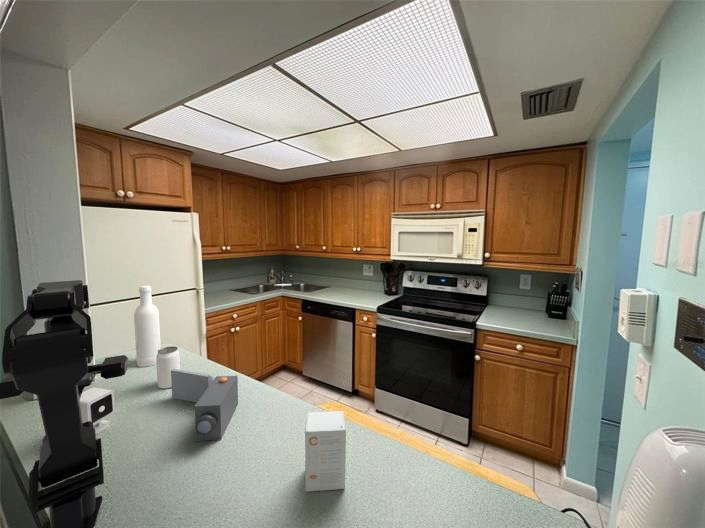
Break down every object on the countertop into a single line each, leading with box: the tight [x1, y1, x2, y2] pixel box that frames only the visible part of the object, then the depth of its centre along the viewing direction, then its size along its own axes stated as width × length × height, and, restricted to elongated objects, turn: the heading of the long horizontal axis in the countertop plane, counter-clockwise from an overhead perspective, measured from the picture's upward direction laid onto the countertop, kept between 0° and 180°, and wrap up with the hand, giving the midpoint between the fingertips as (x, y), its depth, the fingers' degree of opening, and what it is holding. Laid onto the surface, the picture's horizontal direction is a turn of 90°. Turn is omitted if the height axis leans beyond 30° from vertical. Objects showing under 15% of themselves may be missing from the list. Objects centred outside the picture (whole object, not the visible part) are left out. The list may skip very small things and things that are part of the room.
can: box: [156, 345, 181, 390], centre depth 94 cm, size 6×6×12 cm
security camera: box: [80, 387, 116, 435], centre depth 71 cm, size 6×7×10 cm
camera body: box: [194, 375, 239, 442], centre depth 76 cm, size 17×8×10 cm, turn 6°
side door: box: [171, 369, 211, 403], centre depth 85 cm, size 13×2×9 cm, turn 76°
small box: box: [304, 410, 347, 493], centre depth 59 cm, size 8×6×13 cm
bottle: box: [133, 285, 162, 368], centre depth 108 cm, size 8×8×30 cm
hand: (72, 413), depth 60 cm, fingers closed
